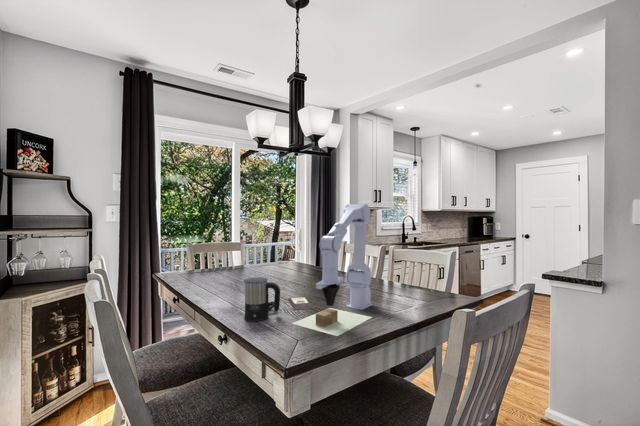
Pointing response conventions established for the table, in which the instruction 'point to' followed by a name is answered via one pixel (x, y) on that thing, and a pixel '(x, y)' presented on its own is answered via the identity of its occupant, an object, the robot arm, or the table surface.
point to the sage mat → (342, 325)
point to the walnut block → (326, 317)
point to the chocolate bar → (301, 303)
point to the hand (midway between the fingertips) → (330, 305)
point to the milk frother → (259, 298)
